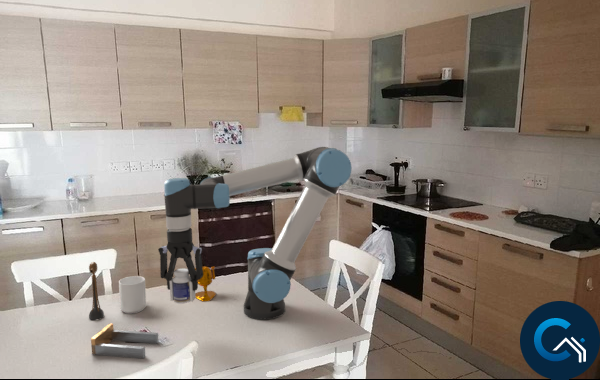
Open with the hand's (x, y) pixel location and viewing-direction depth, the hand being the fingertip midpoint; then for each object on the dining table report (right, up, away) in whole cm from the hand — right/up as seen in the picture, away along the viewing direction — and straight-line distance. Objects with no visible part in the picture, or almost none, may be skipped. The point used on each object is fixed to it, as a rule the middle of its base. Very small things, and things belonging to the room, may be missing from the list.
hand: (183, 299), depth 139 cm
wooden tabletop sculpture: (-34, -10, +14) cm, 38 cm away
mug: (-24, -9, +23) cm, 34 cm away
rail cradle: (-16, -13, -6) cm, 21 cm away
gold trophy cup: (0, -7, +34) cm, 34 cm away
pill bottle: (0, -1, 0) cm, 1 cm away
